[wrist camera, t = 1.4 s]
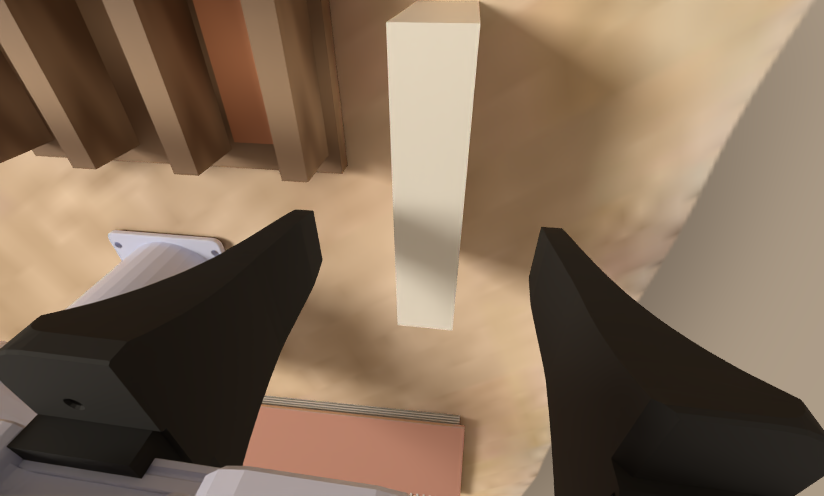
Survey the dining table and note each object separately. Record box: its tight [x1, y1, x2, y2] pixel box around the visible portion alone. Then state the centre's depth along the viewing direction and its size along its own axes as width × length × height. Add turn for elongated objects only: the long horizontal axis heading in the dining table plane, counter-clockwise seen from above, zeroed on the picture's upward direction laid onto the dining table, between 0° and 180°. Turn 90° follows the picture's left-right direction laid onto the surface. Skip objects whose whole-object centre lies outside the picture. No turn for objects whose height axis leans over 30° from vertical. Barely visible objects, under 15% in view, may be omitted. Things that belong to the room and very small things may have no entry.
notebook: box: [243, 396, 465, 496], centre depth 40 cm, size 27×17×2 cm, turn 93°
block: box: [386, 1, 480, 330], centre depth 16 cm, size 12×2×7 cm, turn 0°
